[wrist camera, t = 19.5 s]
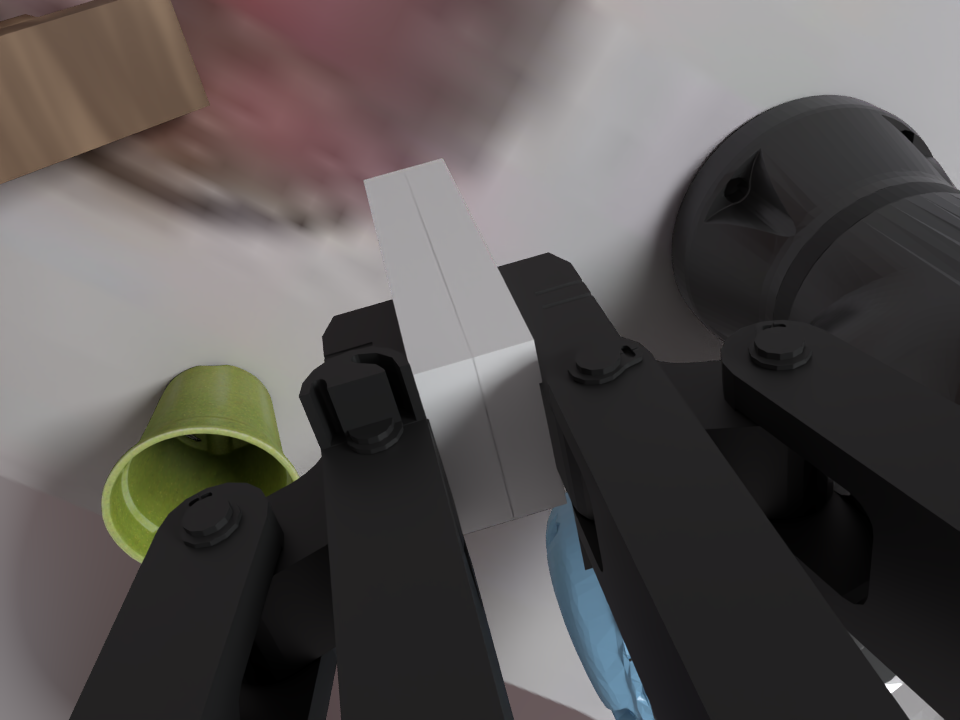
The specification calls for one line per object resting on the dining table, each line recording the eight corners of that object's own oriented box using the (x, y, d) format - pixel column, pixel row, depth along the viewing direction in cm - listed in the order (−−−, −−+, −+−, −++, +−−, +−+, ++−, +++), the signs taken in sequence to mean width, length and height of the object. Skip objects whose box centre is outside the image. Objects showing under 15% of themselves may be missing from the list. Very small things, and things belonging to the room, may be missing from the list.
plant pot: (92, 415, 46) (57, 523, 39) (201, 303, 44) (187, 395, 37) (228, 495, 51) (220, 603, 44) (334, 397, 49) (343, 495, 42)
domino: (165, -14, 34) (-95, 64, 30) (210, 105, 37) (-22, 192, 33) (147, -16, 36) (-101, 58, 32) (192, 98, 39) (-31, 181, 34)
